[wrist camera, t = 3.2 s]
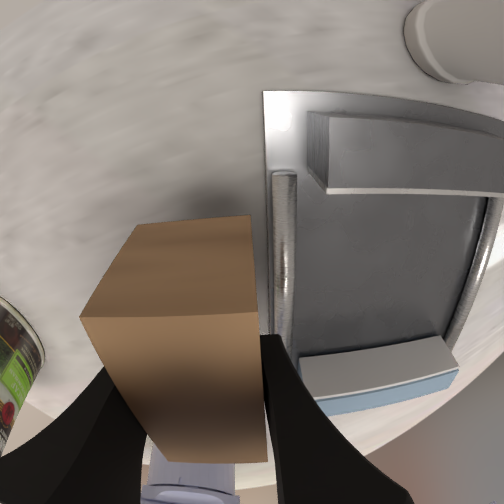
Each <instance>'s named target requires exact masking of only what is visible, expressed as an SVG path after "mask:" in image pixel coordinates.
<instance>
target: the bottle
mask: <svg viewBox="0 0 504 504" xmlns="http://www.w3.org/2000/svg"><path fill="white" fill-rule="evenodd" d="M404 36H405V42H406V46H407V48H408V50H409V52H410V54H411V56H412V58H413V60H414V61H415V62H416V63H417V64H418V66H419V67H420V68H421V69H422V70H423V71H424V72H425V73H427V74H429V75H431V76H433V77H434V78H436V79H438V80H440V81H443V82H447V83H455V84H465V85H468V84H470V83H472V82H474V81H481V82H488V83H495V84H501V85H504V0H427V1H424V2H422V3H420V4H418V5H417V6H415V8H414V9H413V10H412V11H411V12H410V14H409V15H408V16H407V17H406V20H405V26H404Z"/></svg>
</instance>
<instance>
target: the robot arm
mask: <svg viewBox="0 0 504 504" xmlns="http://www.w3.org/2000/svg"><path fill="white" fill-rule="evenodd" d="M260 350H261V365H262V380H263V395H264V403H265V409H266V414H267V420H268V425H269V431H270V436H271V441H272V447H273V452H274V459H275V469H276V481H277V493H278V504H414V502H413V500H412V498H411V496H410V494H409V493H408V491H407V490H406V489H404V488H403V487H401V486H400V485H399V484H397V483H396V482H394V481H393V480H392V479H390V478H389V477H388V476H386V475H385V474H384V473H382V472H381V471H380V470H379V469H378V468H376V467H375V466H374V465H373V464H372V463H370V462H369V461H368V460H367V459H366V458H365V457H364V456H363V455H362V454H361V453H360V452H359V451H358V450H357V449H356V448H355V447H354V446H353V445H352V444H351V443H350V442H349V441H348V440H347V439H346V438H345V437H344V436H343V435H342V434H341V433H340V432H339V430H338V429H337V428H336V427H335V426H334V425H333V423H332V422H331V421H330V420H329V419H328V417H327V416H326V415H325V414H324V412H323V411H322V410H321V408H320V407H319V406H318V404H317V403H316V401H315V400H314V398H313V397H312V395H311V394H310V392H309V391H308V389H307V388H306V386H305V385H304V383H303V381H302V379H301V378H300V376H299V374H298V373H297V371H296V369H295V367H294V365H293V363H292V361H291V359H290V357H289V355H288V353H287V351H286V349H285V346H284V343H283V341H282V337H281V336H280V335H279V334H269V335H260ZM146 437H147V433H146V431H145V430H144V428H143V427H142V426H141V424H140V423H139V421H138V420H137V418H136V417H135V415H134V414H133V412H132V411H131V409H130V408H129V406H128V405H127V403H126V402H125V400H124V398H123V397H122V395H121V394H120V392H119V390H118V389H117V387H116V385H115V384H114V382H113V380H112V379H111V377H110V375H109V374H108V372H107V370H106V368H105V367H103V368H102V369H101V371H100V372H99V373H98V374H97V375H96V377H95V378H94V379H93V380H92V381H91V383H90V384H89V385H88V386H87V387H86V388H85V390H84V391H83V392H82V393H81V394H80V395H79V396H78V397H77V399H76V400H75V401H74V402H73V403H72V404H71V405H70V406H69V407H68V408H67V409H66V410H65V411H64V412H63V413H62V414H61V415H60V416H59V417H58V418H56V419H55V420H54V421H53V422H52V423H51V424H50V425H48V426H47V427H46V428H45V429H43V430H42V431H41V432H40V433H38V434H37V435H36V436H35V437H33V438H32V439H30V440H29V441H27V442H26V443H25V444H23V445H21V446H20V447H18V448H17V449H15V450H14V451H12V452H10V453H8V454H6V455H4V456H2V457H1V458H0V503H1V504H240V499H239V498H240V497H239V496H236V495H235V463H232V464H208V463H182V462H168V461H167V459H166V458H165V457H164V456H163V454H162V453H161V452H160V450H159V449H158V448H157V446H156V445H155V444H154V442H153V447H152V454H151V460H150V467H149V474H148V481H147V485H143V486H142V493H141V470H142V469H141V468H142V458H143V451H144V446H145V442H146ZM489 504H497V503H496V501H492V502H491V503H489Z"/></svg>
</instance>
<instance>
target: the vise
mask: <svg viewBox="0 0 504 504" xmlns="http://www.w3.org/2000/svg"><path fill="white" fill-rule="evenodd" d="M262 98H263V120H264V144H265V171H266V200H267V233H268V271H269V320H270V334H279V335H280V336H281V337H282V341H283V343H284V346H285V349H286V351H287V353H288V355H289V357H290V359H291V361H292V363H293V365H294V367H295V369H296V371H298V360H299V358H302V357H312V356H321V355H329V354H337V353H345V352H352V351H359V350H365V349H372V348H378V347H384V346H390V345H395V344H401V343H406V342H411V341H416V340H421V339H425V338H430V337H435V336H439V335H440V336H441V337H442V339H443V340H444V342H445V344H446V345H447V347H448V348H449V350H450V352H452V350H453V348H454V346H455V344H456V341H457V339H458V337H459V335H460V333H461V331H462V329H463V326H464V324H465V322H466V320H467V317H468V315H469V312H470V310H471V308H472V305H473V303H474V300H475V298H476V295H477V292H478V290H479V287H480V284H481V282H482V279H483V276H484V273H485V270H486V267H487V264H488V261H489V258H490V254H491V251H492V248H493V244H494V241H495V237H496V233H497V230H498V226H499V222H500V218H501V213H502V209H503V204H504V121H501V120H497V119H494V118H490V117H487V116H483V115H479V114H475V113H471V112H467V111H463V110H459V109H454V108H450V107H445V106H440V105H435V104H430V103H424V102H418V101H412V100H405V99H398V98H391V97H383V96H374V95H364V94H352V93H338V92H316V91H263V92H262Z"/></svg>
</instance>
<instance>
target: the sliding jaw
mask: <svg viewBox="0 0 504 504" xmlns="http://www.w3.org/2000/svg"><path fill="white" fill-rule="evenodd" d="M458 368H459V365H458V363H457V361H456V360H455V358H454V356H453V355H452V353H451V352H450V350H449V348H448V347H447V345H446V344H445V342H444V340H443V339H442V337H441V336H440V335H439V336H435V337H430V338H425V339H421V340H416V341H411V342H406V343H401V344H395V345H390V346H384V347H378V348H372V349H365V350H359V351H352V352H345V353H337V354H329V355H321V356H312V357H302V358H299V360H298V371H297V373H298V374H299V376H300V378H301V379H302V381H303V383H304V385H305V386H306V388H307V389H308V391H309V392H310V394H311V395H312V397H313V398H314V400H315V401H316V403H317V404H318V406H319V407H320V408H321V410H322V411H323V412H324V414H325V415H326V416H333V415H340V414H345V413H351V412H357V411H362V410H367V409H372V408H376V407H381V406H385V405H390V404H394V403H398V402H402V401H406V400H410V399H413V398H417V397H421V396H424V395H428V394H431V393H434V392H438V391H441V390H444V389H447V388H449V386H450V385H451V383H452V381H453V380H454V378H455V376H456V375H457V373H458V371H459V370H458Z"/></svg>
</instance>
